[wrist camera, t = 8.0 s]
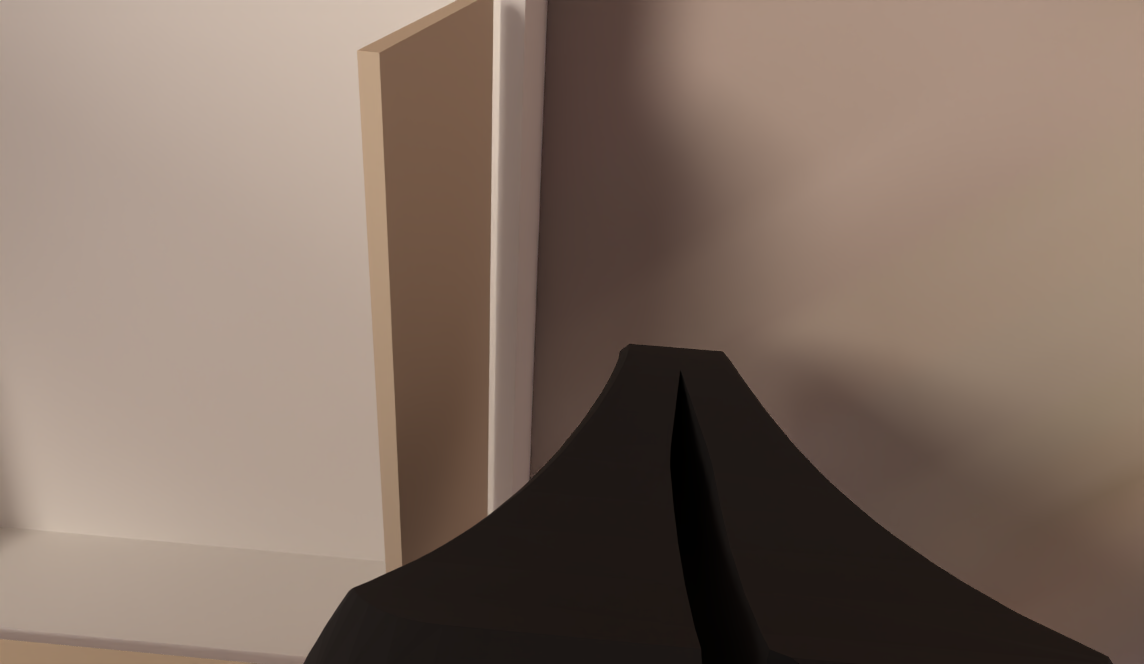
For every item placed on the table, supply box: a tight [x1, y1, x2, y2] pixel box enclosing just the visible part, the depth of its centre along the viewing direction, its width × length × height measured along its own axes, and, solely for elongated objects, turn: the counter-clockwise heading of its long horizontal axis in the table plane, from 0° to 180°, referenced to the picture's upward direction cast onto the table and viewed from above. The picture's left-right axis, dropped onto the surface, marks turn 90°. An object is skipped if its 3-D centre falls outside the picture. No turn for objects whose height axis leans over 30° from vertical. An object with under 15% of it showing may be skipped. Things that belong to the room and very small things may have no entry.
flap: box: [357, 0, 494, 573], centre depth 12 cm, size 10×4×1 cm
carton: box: [0, 0, 548, 664], centre depth 15 cm, size 14×12×3 cm
